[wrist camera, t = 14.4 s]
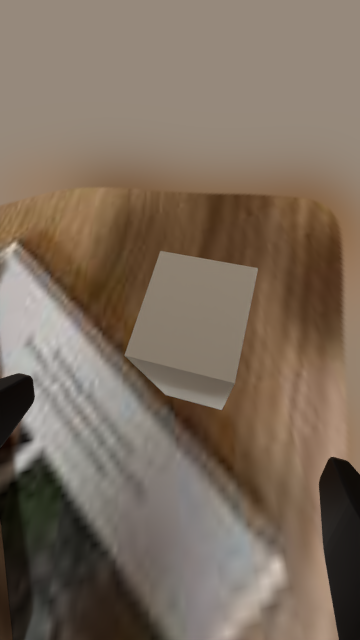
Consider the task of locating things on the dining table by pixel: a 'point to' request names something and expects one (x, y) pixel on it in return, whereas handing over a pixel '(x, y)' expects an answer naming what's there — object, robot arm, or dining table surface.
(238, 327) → the tall board
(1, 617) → the walnut tray
